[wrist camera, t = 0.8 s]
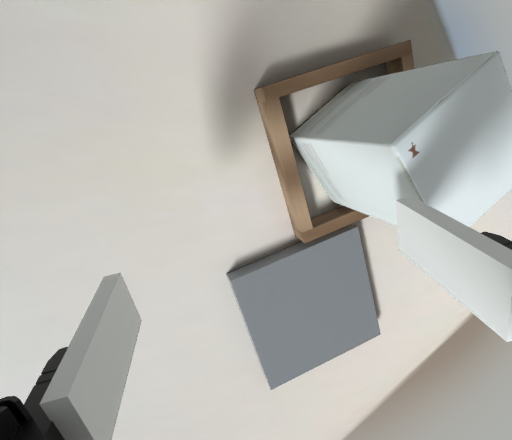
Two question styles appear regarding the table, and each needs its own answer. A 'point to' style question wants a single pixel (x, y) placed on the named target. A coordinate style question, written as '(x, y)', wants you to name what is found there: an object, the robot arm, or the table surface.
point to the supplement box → (416, 140)
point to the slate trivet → (306, 304)
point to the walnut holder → (281, 148)
